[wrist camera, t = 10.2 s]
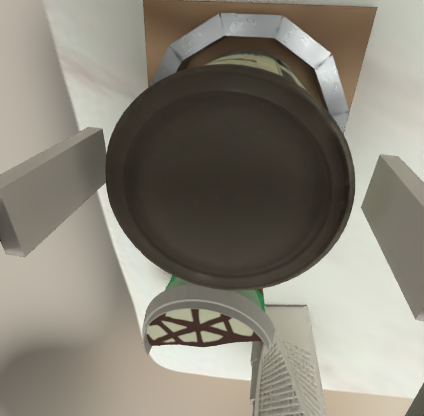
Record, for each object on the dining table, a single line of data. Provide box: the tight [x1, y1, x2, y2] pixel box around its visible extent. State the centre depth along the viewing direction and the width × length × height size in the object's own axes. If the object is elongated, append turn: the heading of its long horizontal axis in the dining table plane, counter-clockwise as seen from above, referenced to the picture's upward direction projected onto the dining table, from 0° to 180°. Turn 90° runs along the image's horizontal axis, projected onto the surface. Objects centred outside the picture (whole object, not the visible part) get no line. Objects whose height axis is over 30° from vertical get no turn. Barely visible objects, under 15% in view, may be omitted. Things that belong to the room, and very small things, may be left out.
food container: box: [142, 276, 275, 355], centre depth 29 cm, size 12×6×10 cm, turn 107°
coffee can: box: [105, 50, 355, 291], centre depth 18 cm, size 10×10×14 cm
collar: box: [149, 13, 349, 134], centre depth 23 cm, size 14×14×3 cm
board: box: [143, 0, 377, 112], centre depth 25 cm, size 16×16×1 cm
